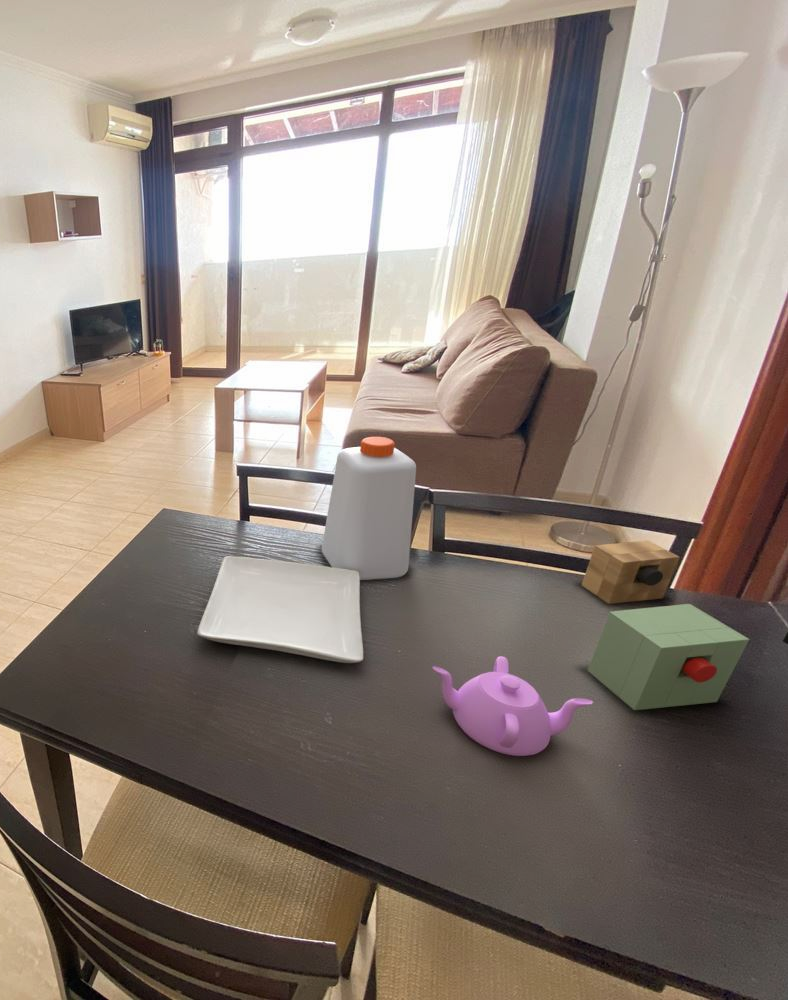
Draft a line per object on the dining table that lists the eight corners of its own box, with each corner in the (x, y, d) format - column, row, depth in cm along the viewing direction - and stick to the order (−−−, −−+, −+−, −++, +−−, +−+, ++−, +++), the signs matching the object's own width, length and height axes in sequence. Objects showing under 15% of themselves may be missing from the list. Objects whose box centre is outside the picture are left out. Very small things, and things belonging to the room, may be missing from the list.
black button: (642, 586, 94) (648, 572, 93) (634, 581, 96) (640, 567, 94) (659, 585, 94) (665, 570, 93) (651, 580, 96) (656, 565, 94)
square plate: (224, 568, 119) (224, 553, 117) (358, 585, 110) (360, 568, 108) (196, 648, 96) (195, 631, 95) (361, 678, 87) (364, 659, 85)
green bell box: (632, 713, 77) (661, 648, 72) (586, 673, 84) (609, 611, 79) (715, 705, 77) (749, 639, 72) (661, 666, 84) (689, 603, 79)
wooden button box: (607, 606, 97) (623, 562, 93) (580, 588, 103) (594, 545, 99) (661, 601, 98) (680, 556, 94) (631, 583, 103) (648, 540, 99)
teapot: (575, 749, 72) (594, 701, 69) (489, 777, 70) (504, 728, 66) (499, 687, 83) (512, 642, 79) (422, 709, 80) (431, 663, 77)
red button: (690, 683, 73) (698, 666, 71) (678, 675, 74) (686, 658, 73) (712, 681, 73) (721, 664, 71) (700, 673, 74) (708, 656, 73)
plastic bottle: (340, 585, 110) (354, 457, 98) (315, 548, 124) (325, 432, 112) (415, 579, 110) (438, 450, 98) (381, 543, 123) (398, 426, 111)
